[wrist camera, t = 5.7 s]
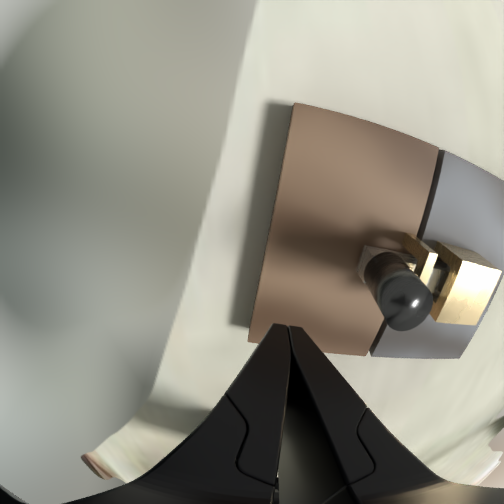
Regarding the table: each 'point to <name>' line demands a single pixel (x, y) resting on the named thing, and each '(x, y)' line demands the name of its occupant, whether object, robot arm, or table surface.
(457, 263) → the brass keeper
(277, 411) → the robot arm
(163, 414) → the table surface
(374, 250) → the steel bolt
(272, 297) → the board
